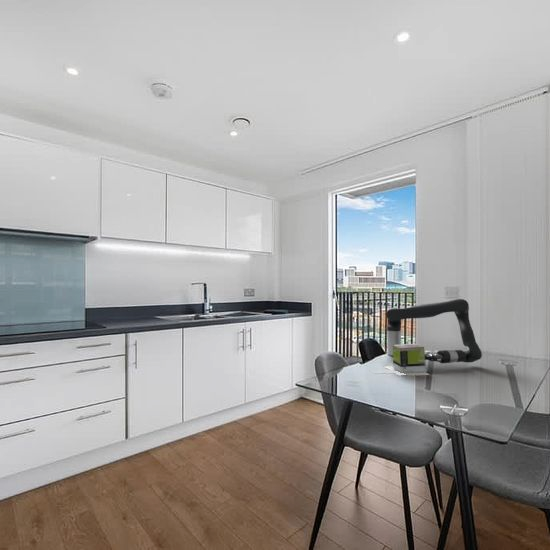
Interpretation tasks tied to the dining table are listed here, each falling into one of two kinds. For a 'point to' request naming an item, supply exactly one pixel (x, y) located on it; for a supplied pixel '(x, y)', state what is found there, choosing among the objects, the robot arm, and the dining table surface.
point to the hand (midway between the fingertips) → (420, 357)
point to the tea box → (408, 358)
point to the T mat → (407, 372)
